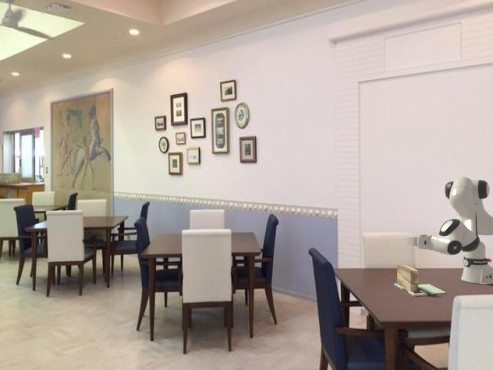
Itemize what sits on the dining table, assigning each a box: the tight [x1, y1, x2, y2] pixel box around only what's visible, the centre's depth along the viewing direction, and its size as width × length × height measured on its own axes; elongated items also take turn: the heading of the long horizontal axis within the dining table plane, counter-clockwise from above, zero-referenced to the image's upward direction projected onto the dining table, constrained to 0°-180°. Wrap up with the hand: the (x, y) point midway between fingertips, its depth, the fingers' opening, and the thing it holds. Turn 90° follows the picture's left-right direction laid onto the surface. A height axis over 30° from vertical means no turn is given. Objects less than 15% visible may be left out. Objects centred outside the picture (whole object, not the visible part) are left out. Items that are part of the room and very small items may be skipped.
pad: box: [418, 283, 447, 295], centre depth 232 cm, size 9×16×1 cm, turn 9°
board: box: [396, 264, 419, 292], centre depth 235 cm, size 4×14×12 cm, turn 9°
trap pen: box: [407, 289, 428, 297], centre depth 225 cm, size 8×6×1 cm
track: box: [394, 282, 405, 291], centre depth 238 cm, size 8×9×1 cm
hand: (419, 237), depth 222 cm, fingers closed
